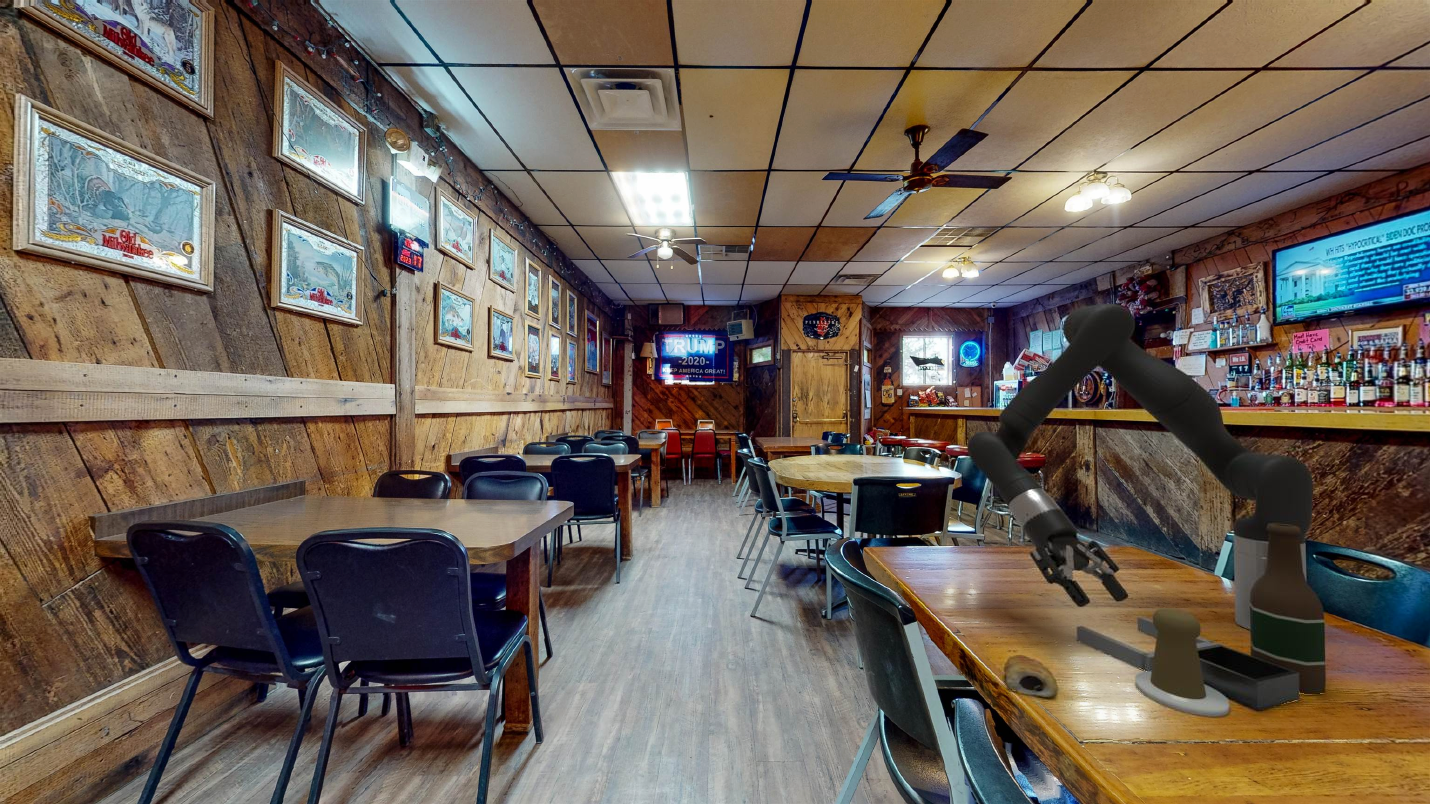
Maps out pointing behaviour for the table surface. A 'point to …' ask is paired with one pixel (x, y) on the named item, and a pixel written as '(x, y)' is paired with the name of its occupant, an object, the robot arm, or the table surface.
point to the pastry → (1029, 677)
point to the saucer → (1185, 699)
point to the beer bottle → (1288, 613)
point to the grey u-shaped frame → (1126, 651)
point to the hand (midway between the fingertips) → (1104, 602)
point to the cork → (1177, 654)
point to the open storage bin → (1247, 678)
